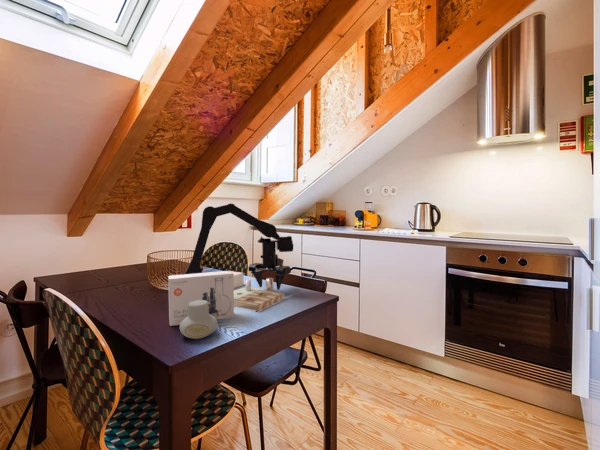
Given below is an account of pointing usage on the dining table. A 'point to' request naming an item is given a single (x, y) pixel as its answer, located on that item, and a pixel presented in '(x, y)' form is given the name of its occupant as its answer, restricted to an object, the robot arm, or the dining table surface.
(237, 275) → the white rectangular block
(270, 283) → the pin
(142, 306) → the dining table surface
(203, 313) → the air freshener
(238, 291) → the plate
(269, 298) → the hole board
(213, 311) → the skincare box
